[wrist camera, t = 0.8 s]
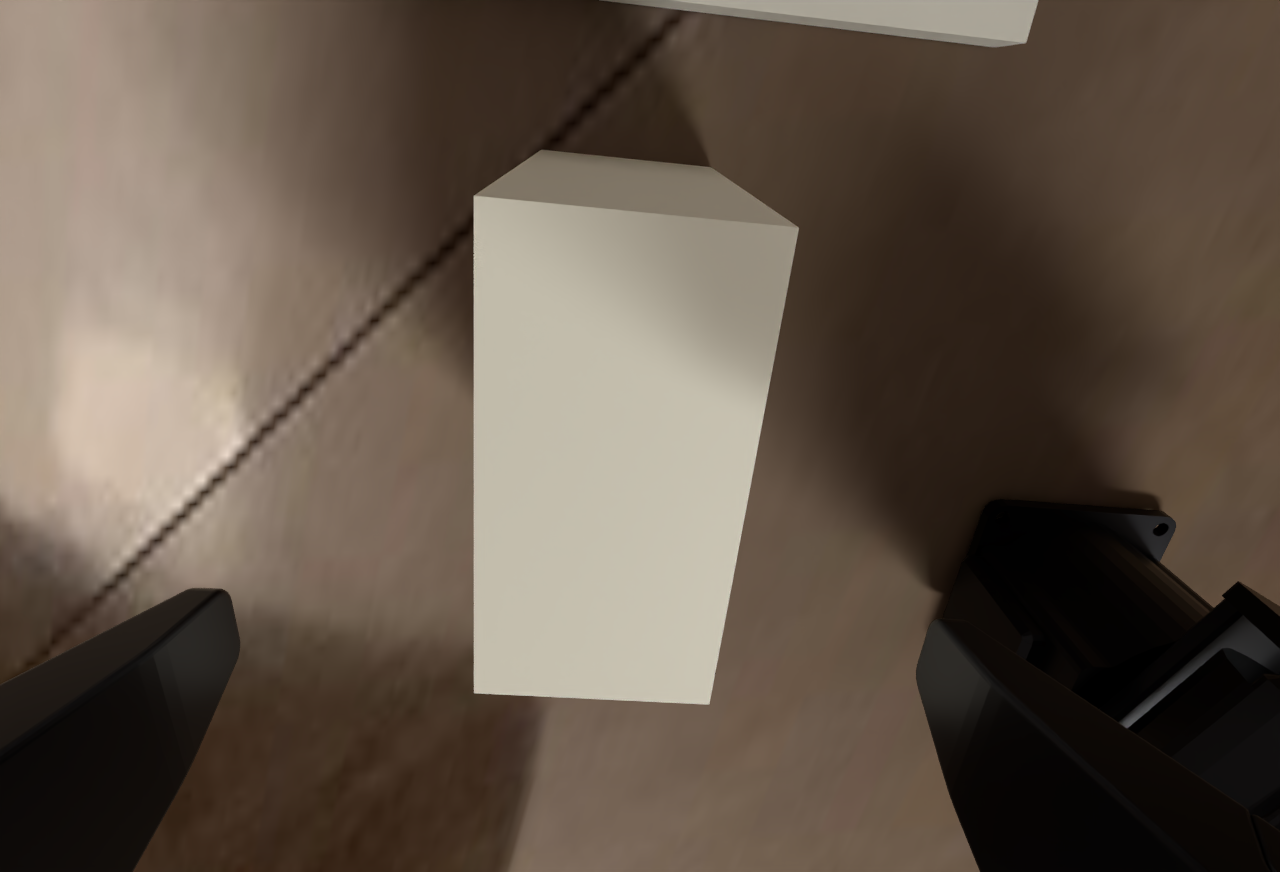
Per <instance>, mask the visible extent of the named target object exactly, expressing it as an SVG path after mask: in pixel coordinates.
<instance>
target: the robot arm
mask: <svg viewBox="0 0 1280 872" xmlns="http://www.w3.org/2000/svg"><path fill="white" fill-rule="evenodd" d="M1001 512H1004V514H1003V515H1002V516H1001V517H1000V518H997V519H995V518H996V516H997V515H998V514H1000V513H1001ZM1157 525H1158V527H1156V526H1157ZM1155 527H1156V528H1155ZM1154 528H1155V529H1154ZM1175 528H1176V523H1175V521H1174V520H1173V519H1172V518H1171V517H1170V516H1168V515H1167V514H1166V513H1164V512H1162V511H1158V510H1144V509H1130V508H1116V507H1102V506H1088V505H1074V504H1060V503H1046V502H1032V501H1018V500H1004V499H1000V500H994V501H992V502H990V503H989V504H987V505H986V506H985V508H984V509H983V511H982V514H981V517H980V520H979V522H978V525H977V528H976V531H975V534H974V537H973V539H972V542H971V545H970V548H969V551H968V553H967V556H966V558H965V559H964V560H963V562H962V564H961V567H960V570H959V573H958V576H957V579H956V581H955V584H954V587H953V590H952V593H951V596H950V598H949V601H948V604H947V607H946V610H945V613H944V619H936V620H934V621H932V623H931V624H930V626H929V628H928V631H927V634H926V637H925V641H924V644H923V647H922V650H921V654H920V657H919V660H918V664H917V669H916V680H917V685H918V689H919V693H920V696H921V700H922V703H923V707H924V710H925V713H926V717H927V720H928V724H929V727H930V731H931V734H932V738H933V741H934V745H935V748H936V752H937V755H938V759H939V762H940V765H941V769H942V772H943V776H944V779H945V782H946V785H947V789H948V792H949V795H950V798H951V800H952V803H953V806H954V808H955V811H956V813H957V816H958V818H959V821H960V823H961V826H962V828H963V831H964V833H965V836H966V838H967V841H968V843H969V846H970V848H971V851H972V853H973V856H974V858H975V861H976V863H977V865H978V868H979V870H980V872H1280V606H1278V605H1277V604H1275V603H1273V602H1272V601H1270V600H1268V599H1267V598H1265V597H1264V596H1262V595H1260V594H1259V593H1257V592H1255V591H1254V590H1252V589H1251V588H1249V587H1247V586H1246V585H1244V584H1242V583H1241V582H1239V581H1238V582H1237V583H1236V584H1234V585H1233V586H1232V587H1231V588H1230V589H1229V590H1228V591H1227V592H1225V593H1224V594H1223V595H1222V596H1223V597H1224V598H1225V599H1224V600H1223V601H1222V602H1220V603H1219V604H1218V605H1217V606H1216V607H1215V608H1213V607H1212V606H1211V605H1210V604H1209V603H1207V602H1206V601H1205V600H1204V599H1203V598H1201V597H1200V596H1199V595H1198V594H1197V593H1196V592H1194V591H1193V590H1192V589H1191V588H1190V587H1188V586H1187V585H1186V584H1185V583H1184V582H1183V581H1181V580H1180V579H1179V578H1178V577H1177V576H1175V575H1174V574H1173V573H1172V572H1171V571H1170V570H1168V569H1167V568H1166V567H1165V566H1164V565H1162V564H1161V563H1160V560H1161V558H1162V556H1163V554H1164V552H1165V550H1166V548H1167V546H1168V544H1169V542H1170V540H1171V538H1172V536H1173V534H1174V532H1175ZM239 651H240V637H239V633H238V628H237V623H236V619H235V614H234V609H233V604H232V600H231V597H230V595H229V594H228V592H227V591H225V590H223V589H215V588H191V589H188V590H185V591H183V592H181V593H179V594H177V595H176V596H174V597H172V598H170V599H168V600H166V601H164V602H162V603H160V604H158V605H156V606H154V607H152V608H150V609H148V610H146V611H144V612H142V613H140V614H138V615H136V616H134V617H132V618H130V619H128V620H126V621H124V622H122V623H120V624H118V625H117V626H115V627H113V628H111V629H109V630H107V631H105V632H103V633H101V634H99V635H97V636H95V637H93V638H91V639H89V640H87V641H85V642H83V643H81V644H79V645H77V646H75V647H73V648H71V649H69V650H67V651H65V652H63V653H61V654H59V655H57V656H56V657H54V658H52V659H50V660H48V661H46V662H44V663H42V664H40V665H38V666H36V667H34V668H32V669H30V670H28V671H26V672H24V673H22V674H20V675H18V676H16V677H14V678H12V679H10V680H8V681H6V682H4V683H2V684H0V872H133V871H134V869H135V867H136V865H137V864H138V862H139V860H140V858H141V856H142V855H143V853H144V851H145V849H146V848H147V846H148V844H149V842H150V840H151V839H152V837H153V835H154V833H155V832H156V830H157V828H158V826H159V824H160V823H161V821H162V819H163V817H164V816H165V814H166V812H167V810H168V808H169V807H170V805H171V803H172V801H173V800H174V798H175V796H176V794H177V792H178V790H179V789H180V787H181V785H182V783H183V781H184V779H185V777H186V775H187V773H188V771H189V769H190V767H191V765H192V763H193V761H194V759H195V756H196V754H197V752H198V750H199V747H200V745H201V743H202V740H203V738H204V736H205V733H206V731H207V729H208V727H209V724H210V722H211V720H212V717H213V715H214V713H215V710H216V708H217V706H218V703H219V701H220V699H221V697H222V694H223V692H224V690H225V687H226V685H227V683H228V680H229V678H230V676H231V674H232V671H233V669H234V667H235V664H236V662H237V659H238V656H239Z"/></svg>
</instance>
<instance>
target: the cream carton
mask: <svg viewBox="0 0 1280 872" xmlns="http://www.w3.org/2000/svg"><path fill="white" fill-rule="evenodd" d="M798 231H799V227H797V226H796V225H795V224H793V223H792V222H790V221H789V220H787V219H786V218H784V217H783V216H781V215H780V214H778V213H777V212H776V211H774V210H773V209H771V208H770V207H768V206H767V205H765V204H764V203H762V202H761V201H760V200H758V199H757V198H755V197H754V196H752V195H751V194H749V193H748V192H746V191H745V190H743V189H742V188H741V187H739V186H738V185H736V184H735V183H733V182H732V181H730V180H729V179H727V178H726V177H724V176H723V175H722V174H720V173H719V172H717V171H716V170H714V169H713V168H711V167H705V166H695V165H685V164H676V163H666V162H656V161H647V160H637V159H627V158H618V157H608V156H598V155H589V154H579V153H569V152H560V151H550V150H540V151H539V152H537V153H536V154H534V155H533V156H531V157H530V158H528V159H527V160H526V161H524V162H523V163H521V164H520V165H518V166H517V167H515V168H514V169H512V170H511V171H509V172H508V173H506V174H505V175H503V176H502V177H500V178H499V179H498V180H496V181H495V182H493V183H492V184H490V185H489V186H487V187H486V188H484V189H483V190H481V191H480V192H478V193H477V194H475V195H474V693H480V694H501V695H522V696H543V697H564V698H584V699H605V700H626V701H647V702H668V703H689V704H709V703H710V698H711V693H712V687H713V682H714V677H715V671H716V666H717V661H718V655H719V650H720V645H721V639H722V634H723V629H724V624H725V618H726V613H727V608H728V602H729V597H730V592H731V586H732V581H733V576H734V570H735V565H736V560H737V555H738V549H739V544H740V539H741V533H742V528H743V523H744V517H745V512H746V507H747V501H748V496H749V491H750V486H751V480H752V475H753V470H754V464H755V459H756V454H757V448H758V443H759V438H760V432H761V427H762V422H763V417H764V411H765V406H766V401H767V395H768V390H769V385H770V379H771V374H772V369H773V363H774V358H775V353H776V348H777V342H778V337H779V332H780V326H781V321H782V316H783V310H784V305H785V300H786V294H787V289H788V284H789V279H790V273H791V268H792V263H793V257H794V252H795V247H796V241H797V236H798Z"/></svg>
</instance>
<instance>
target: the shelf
mask: <svg viewBox="0 0 1280 872" xmlns="http://www.w3.org/2000/svg"><path fill="white" fill-rule="evenodd" d="M601 1H609V2H618V3H626V4H635V5H643V6H651V7H660V8H668V9H677V10H685V11H693V12H702V13H710V14H719V15H727V16H735V17H744V18H752V19H760V20H769V21H777V22H786V23H794V24H802V25H811V26H819V27H828V28H836V29H844V30H853V31H861V32H870V33H878V34H886V35H895V36H903V37H911V38H920V39H928V40H937V41H945V42H953V43H962V44H970V45H979V46H987V47H1002V46H1009V45H1016V44H1023V43H1026V42H1027V38H1028V35H1029V31H1030V28H1031V24H1032V21H1033V17H1034V14H1035V10H1036V7H1037V4H1038V0H601Z"/></svg>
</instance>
